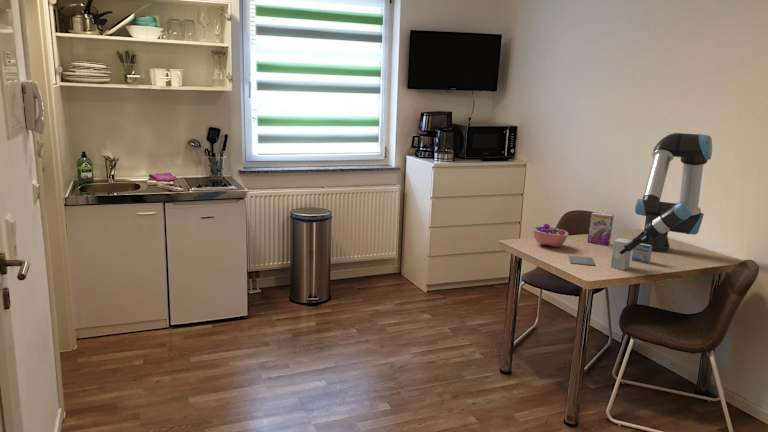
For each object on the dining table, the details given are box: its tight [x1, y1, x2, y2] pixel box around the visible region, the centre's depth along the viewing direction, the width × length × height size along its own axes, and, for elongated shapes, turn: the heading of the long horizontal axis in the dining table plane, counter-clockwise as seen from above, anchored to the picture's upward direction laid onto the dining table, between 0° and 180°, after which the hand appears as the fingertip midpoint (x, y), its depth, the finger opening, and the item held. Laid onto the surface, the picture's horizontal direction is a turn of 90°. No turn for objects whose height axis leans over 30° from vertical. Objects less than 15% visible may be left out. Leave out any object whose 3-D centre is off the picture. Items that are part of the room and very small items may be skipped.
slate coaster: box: [568, 255, 596, 267], centre depth 276 cm, size 11×13×1 cm
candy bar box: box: [587, 211, 614, 247], centre depth 311 cm, size 11×5×16 cm, turn 58°
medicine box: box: [630, 243, 653, 264], centre depth 279 cm, size 8×4×9 cm, turn 53°
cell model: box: [532, 223, 569, 248], centre depth 302 cm, size 17×20×11 cm
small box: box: [610, 237, 633, 271], centre depth 267 cm, size 8×6×13 cm
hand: (617, 253), depth 268 cm, fingers open, 13 cm apart
